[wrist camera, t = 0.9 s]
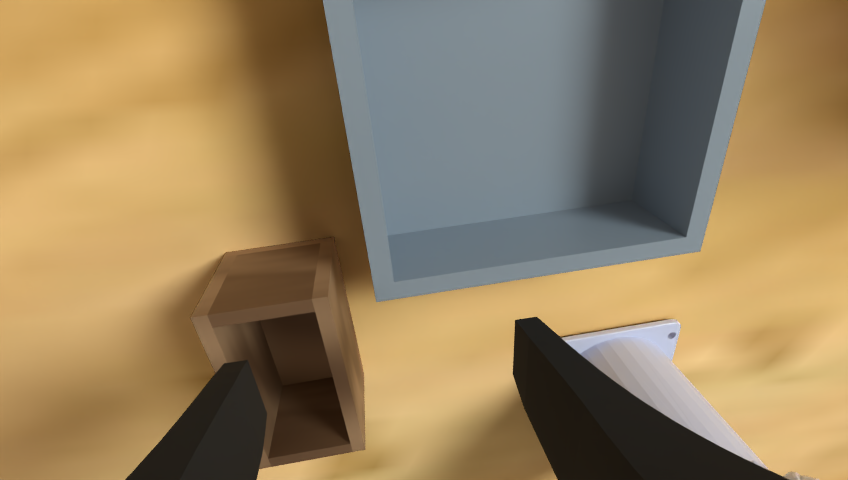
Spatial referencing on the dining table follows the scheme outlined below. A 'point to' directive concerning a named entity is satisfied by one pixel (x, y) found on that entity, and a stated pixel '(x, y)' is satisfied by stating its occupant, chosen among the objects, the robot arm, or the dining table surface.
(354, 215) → the dining table surface
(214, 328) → the walnut crate
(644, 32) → the slate crate
